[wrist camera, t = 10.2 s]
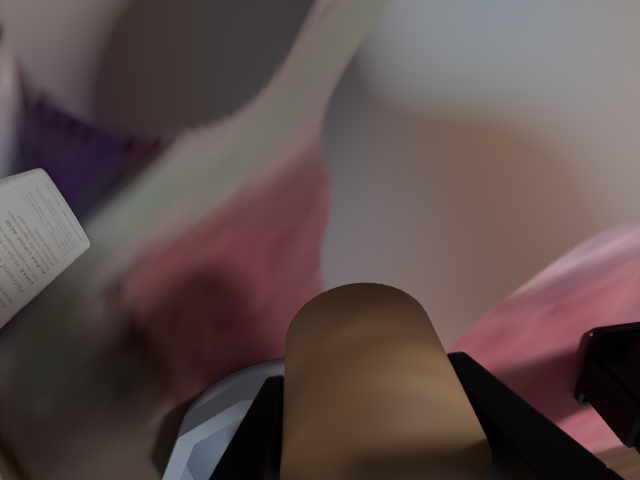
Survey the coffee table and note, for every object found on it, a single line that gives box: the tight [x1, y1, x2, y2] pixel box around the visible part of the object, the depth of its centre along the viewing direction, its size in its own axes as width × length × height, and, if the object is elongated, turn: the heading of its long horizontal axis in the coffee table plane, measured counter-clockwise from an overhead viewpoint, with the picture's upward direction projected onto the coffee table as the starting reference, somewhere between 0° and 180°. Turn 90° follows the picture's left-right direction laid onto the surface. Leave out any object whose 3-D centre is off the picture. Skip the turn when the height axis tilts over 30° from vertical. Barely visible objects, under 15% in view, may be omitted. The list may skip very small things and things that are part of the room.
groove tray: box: [162, 358, 285, 480], centre depth 25 cm, size 18×18×3 cm
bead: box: [280, 283, 492, 480], centre depth 8 cm, size 4×4×4 cm
